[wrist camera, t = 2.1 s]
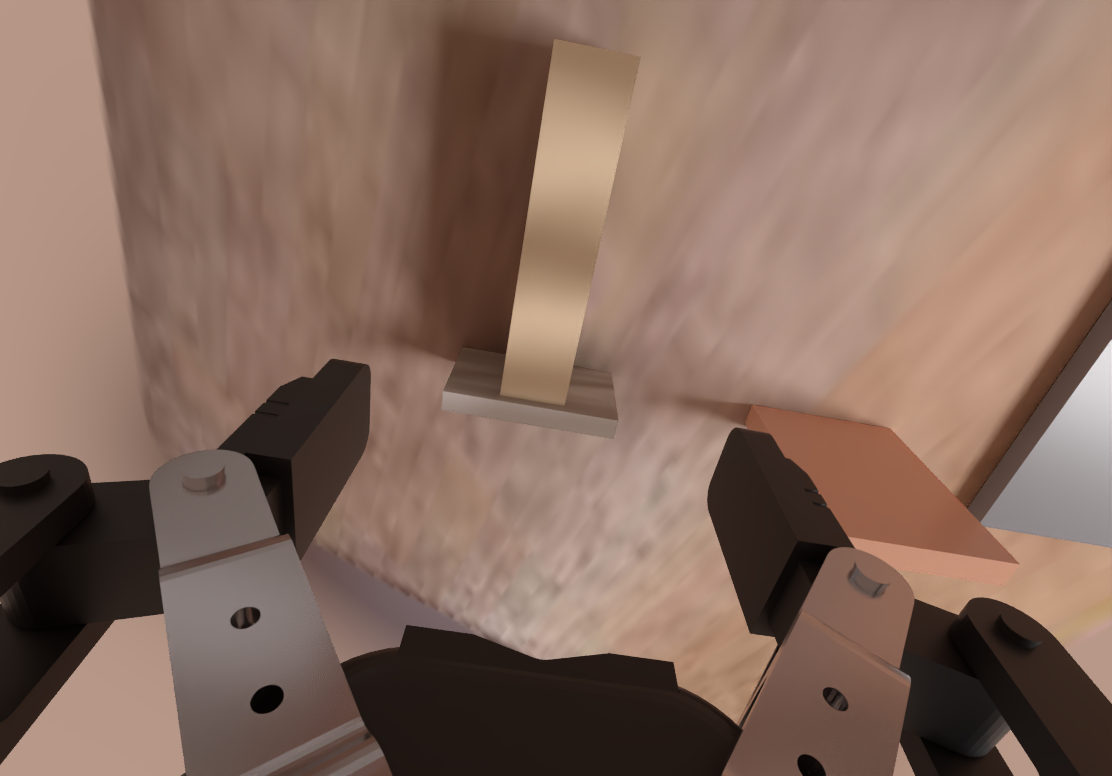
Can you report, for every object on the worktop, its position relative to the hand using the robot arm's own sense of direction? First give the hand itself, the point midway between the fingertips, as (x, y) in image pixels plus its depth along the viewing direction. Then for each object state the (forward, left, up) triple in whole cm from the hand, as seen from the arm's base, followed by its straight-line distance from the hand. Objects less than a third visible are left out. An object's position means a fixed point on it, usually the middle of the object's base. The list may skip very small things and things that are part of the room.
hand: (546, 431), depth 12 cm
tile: (+7, +16, -16) cm, 24 cm away
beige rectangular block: (0, 0, -16) cm, 16 cm away
